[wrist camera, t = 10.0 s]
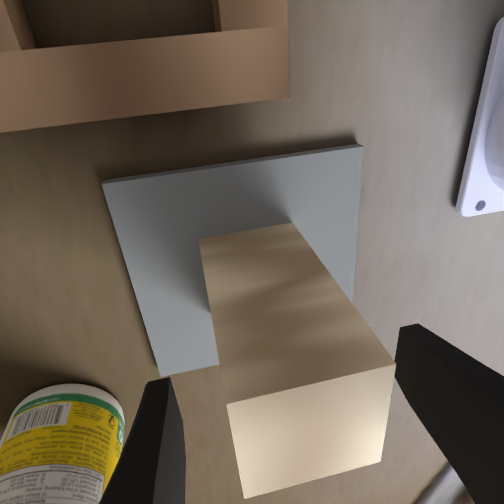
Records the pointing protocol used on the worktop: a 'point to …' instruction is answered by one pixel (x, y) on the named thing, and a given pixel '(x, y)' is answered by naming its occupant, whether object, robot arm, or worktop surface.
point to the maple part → (293, 361)
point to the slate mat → (223, 222)
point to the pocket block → (143, 69)
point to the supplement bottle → (61, 446)
